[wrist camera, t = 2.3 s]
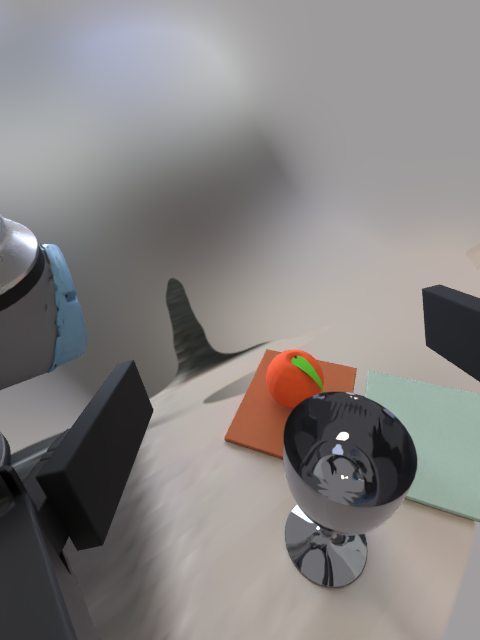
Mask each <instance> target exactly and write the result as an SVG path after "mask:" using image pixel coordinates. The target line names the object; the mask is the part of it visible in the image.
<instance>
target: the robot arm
mask: <svg viewBox="0 0 480 640" xmlns="http://www.w3.org/2000/svg"><path fill="white" fill-rule="evenodd" d="M422 295H423V309H424V324H425V338H426V346H428V347H429V348H430V349H432V350H433V351H435V352H436V353H438V354H439V355H441V356H442V357H444V358H445V359H447V360H448V361H450V362H452V363H453V364H454V365H456V366H457V367H459V368H460V369H462V370H463V371H464V372H466V373H468V374H469V375H470V376H472V377H474V378H475V379H476V380H478V381H479V382H480V298H477V297H474V296H472V295H469V294H466V293H463V292H460V291H457V290H454V289H451V288H448V287H445V286H443V285H436V286H432V287H428V288H424V289H422ZM86 347H87V332H86V327H85V322H84V319H83V314H82V310H81V307H80V304H79V301H78V298H77V297H76V292H75V289H74V284H73V281H72V278H71V275H70V272H69V269H68V266H67V264H66V261H65V259H64V256H63V254H62V252H61V250H60V249H59V248H58V246H56V245H54V244H44V243H43V244H40V245H39V244H38V241H37V239H36V237H35V235H34V234H33V233H32V232H31V231H30V230H29V229H28V228H27V227H25V226H23V225H22V224H20V223H17V222H15V221H12V220H9V219H5V218H3V217H2V215H1V214H0V390H2V389H4V388H7V387H10V386H12V385H15V384H18V383H20V382H23V381H26V380H29V379H31V378H33V377H36V376H39V375H42V374H44V373H49V372H52V371H53V370H55V369H56V368H57V367H59V366H61V365H63V364H65V363H67V362H70V361H72V360H74V359H76V358H78V357H79V356H81V355H82V354H83V353H84V351H85V349H86ZM152 413H153V408H152V405H151V403H150V400H149V398H148V395H147V393H146V390H145V387H144V385H143V382H142V380H141V377H140V375H139V372H138V370H137V367H136V365H135V362H134V360H131V361H127V362H123V363H119V364H117V365H116V367H115V368H114V369H113V371H112V372H111V373H110V375H109V376H108V378H107V379H106V380H105V382H104V383H103V385H102V386H101V387H100V389H99V390H98V391H97V393H96V394H95V395H94V397H93V398H92V400H91V401H90V402H89V404H88V405H87V406H86V408H85V409H84V411H83V412H82V413H81V415H80V416H79V417H78V419H77V420H76V422H75V423H74V425H73V426H72V427H71V428H70V429H67V430H66V431H65V432H64V433H63V434H61V435H60V436H59V437H58V438H57V439H56V440H55V441H54V442H53V443H52V445H51V446H50V447H49V449H48V450H47V453H45V454H44V455H43V457H42V458H41V459H40V462H38V463H37V465H36V466H35V467H34V469H33V470H32V471H31V473H30V474H29V475H28V476H27V478H26V479H25V480H24V482H23V483H22V482H21V480H20V478H19V477H18V475H17V473H16V471H15V470H14V468H13V467H11V466H9V463H10V456H11V454H10V446H9V444H8V441H7V440H6V438H5V437H4V436H3V435H2V434H1V432H0V640H100V639H99V637H98V634H97V632H96V629H95V627H94V624H93V622H92V619H91V617H90V614H89V612H88V609H87V607H86V604H85V602H84V599H83V597H82V594H81V592H80V589H79V587H78V584H77V582H76V579H75V577H74V574H73V571H72V569H71V566H70V564H69V561H68V559H67V557H66V555H65V554H64V552H63V550H62V549H63V547H64V545H65V543H66V541H67V539H68V537H70V539H71V540H72V542H73V544H74V546H75V547H76V549H77V551H79V550H83V549H88V548H92V547H97V546H101V545H103V544H104V541H105V538H106V536H107V533H108V530H109V528H110V525H111V522H112V520H113V517H114V514H115V512H116V509H117V506H118V504H119V501H120V498H121V496H122V493H123V490H124V488H125V485H126V482H127V480H128V477H129V474H130V472H131V469H132V466H133V464H134V461H135V458H136V456H137V453H138V450H139V448H140V445H141V442H142V440H143V437H144V434H145V432H146V429H147V426H148V424H149V421H150V418H151V416H152Z"/></svg>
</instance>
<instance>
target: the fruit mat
mask: <svg viewBox="0 0 480 640" xmlns="http://www.w3.org/2000/svg"><path fill="white" fill-rule="evenodd" d="M280 353H282V352H277V351H272V350H266V352H265V354H264V356H263V359H262V361H261V363H260V365H259V367H258V369H257V371H256V373H255V375H254V377H253V379H252V382H251V384H250V386H249V388H248V390H247V392H246V394H245V396H244V398H243V400H242V402H241V404H240V407H239V409H238V411H237V413H236V415H235V417H234V419H233V421H232V423H231V425H230V427H229V429H228V432H227V434H226V436H225V440H226V441H229V442H232V443H235V444H238V445H241V446H244V447H247V448H251V449H254V450H257V451H260V452H263V453H266V454H269V455H272V456H275V457H279V458H282V459H283V434H284V428H285V424H286V421H287V418H288V416H289V415H290V413H291V412H292V410H293V409H294V408H292V407H287V406H285V405H282V404H280V403H279V402H277V401H276V400H275V399H274V398H273V396H272V395H271V394H270V392H269V390H268V388H267V383H266V374H267V369H268V366H269V365H270V363H271V362H272V360H273V359H274V358H275V357H276V356H277V355H279V354H280ZM317 361H318V363H319V364H320V366H321V368H322V371H323V374H324V385H323V390H324V392H348V393H353V390H354V383H355V377H356V368H353V367H348V366H343V365H338V364H334V363H329V362H324V361H319V360H317ZM321 393H323V392H322V391H321Z"/></svg>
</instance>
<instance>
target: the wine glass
mask: <svg viewBox="0 0 480 640" xmlns="http://www.w3.org/2000/svg"><path fill="white" fill-rule="evenodd" d="M283 463H284V470H285V474H286V478H287V482H288V486H289V488H290V491H291V493H292V495H293V498H294V500H295V501H296V503H297V505H296V506H295V507H294V508H293V510H292V511H291V513H290V515H289V517H288V519H287V522H286V528H285V541H286V546H287V549H288V552H289V555H290V557H291V559H292V561H293V563H294V564H295V566H296V567H297V568H298V570H299V571H300V572H301V573H302V574H303V575H304V576H305V577H307V578H308V579H309V580H311V581H312V582H314V583H316V584H318V585H321V586H325V587H333V588H336V587H343V586H345V585H348V584H350V583H351V582H353V581H354V580H355V579H356V578H357V577H358V576H359V575H360V574H361V572H362V570H363V568H364V566H365V562H366V558H367V543H366V538H365V534H364V533H367V532H370V531H372V530H374V529H376V528H377V527H379V526H380V525H382V524H383V523H385V522H386V521H387V520H388V519H389V518H390V517H391V516H392V515H393V514H394V513H395V512H396V511H397V510H398V509H399V507H400V505H401V504H402V502H403V501H404V499H405V497H406V496H407V494H408V492H409V490H410V488H411V486H412V484H413V482H414V479H415V475H416V471H417V453H416V448H415V445H414V443H413V440H412V437H411V436H410V434H409V432H408V431H407V429H406V427H405V426H404V425H403V424H402V423H401V421H400V420H399V419H398V418H397V417H396V416H395V415H394V414H393V413H391V412H390V411H389V410H388V409H386V408H385V407H383V406H382V405H380V404H379V403H377V402H375V401H373V400H371V399H369V398H366V397H364V396H361V395H357V394H353V393H348V392H324V393H320V394H316V395H313V396H311V397H309V398H306V399H305V400H303V401H302V402H300V403H299V404H298V405H297V406H296V407H295V408H294V409H293V410H292V412H291V413H290V415H289V416H288V418H287V421H286V424H285V428H284V434H283Z"/></svg>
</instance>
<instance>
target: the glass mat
mask: <svg viewBox="0 0 480 640" xmlns="http://www.w3.org/2000/svg"><path fill="white" fill-rule="evenodd" d="M365 397H366V398H369V399H371V400H373V401H375V402H377V403H379V404H380V405H382V406H383V407H385V408H386V409H388V410H389V411H390V412H391V413H393V414H394V415H395V416H396V417H397V418H398V419H399V420H400V421H401V423H402V424H403V425H404V426H405V427H406V429H407V431H408V432H409V434H410V436H411V437H412V440H413V443H414V445H415V448H416V453H417V471H416V475H415V479H414V482H413V484H412V486H411V488H410V490H409V492H408V494H407V496H406V497H405V498H406V499H409V500H412V501H415V502H419V503H422V504H425V505H428V506H431V507H434V508H437V509H440V510H443V511H447V512H450V513H453V514H456V515H459V516H462V517H465V518H468V519H471V520H475V521H478V522H480V395H479V394H476V393H471V392H466V391H462V390H457V389H452V388H447V387H443V386H438V385H433V384H429V383H424V382H419V381H414V380H410V379H405V378H400V377H395V376H391V375H386V374H381V373H376V372H372V371H368V375H367V384H366V393H365Z"/></svg>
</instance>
